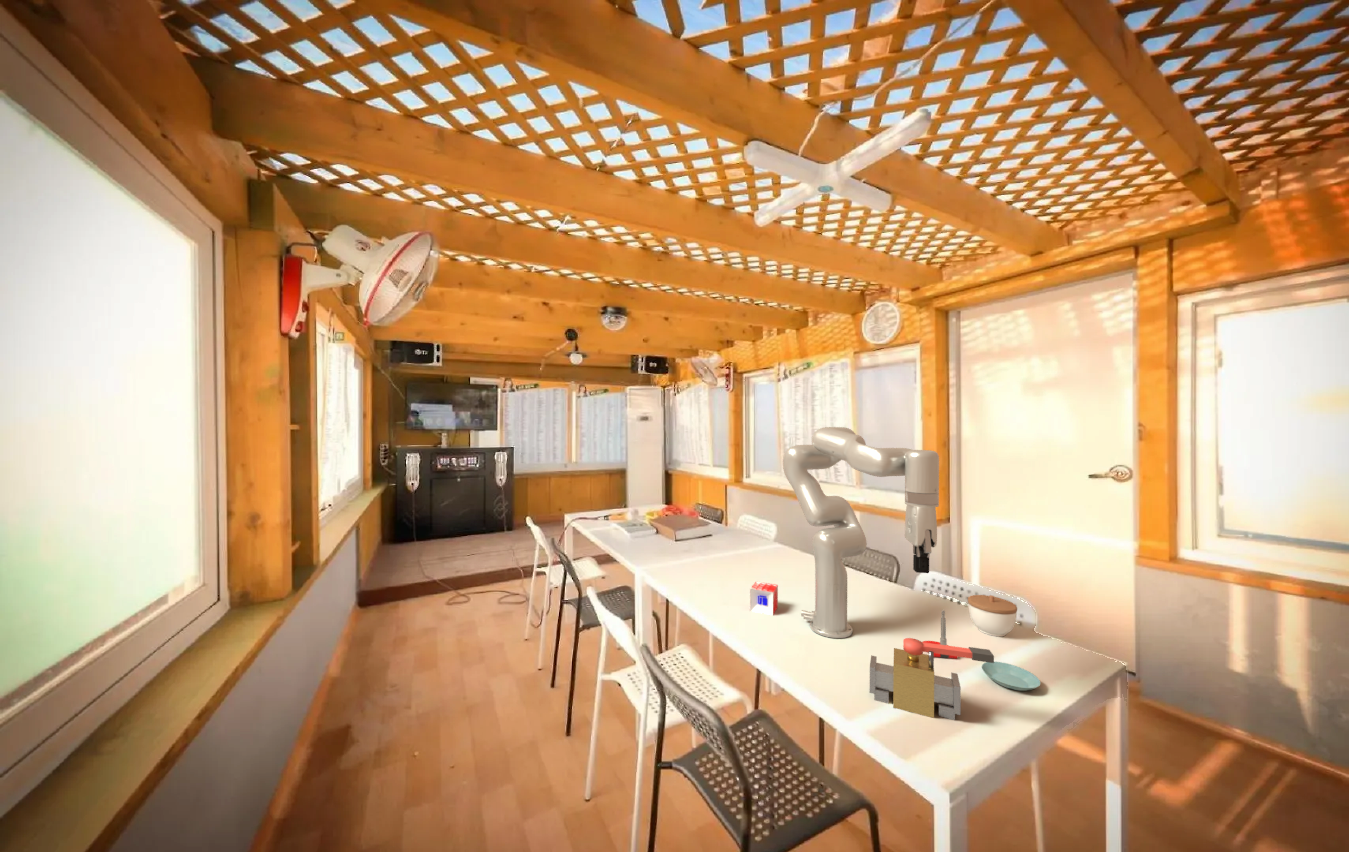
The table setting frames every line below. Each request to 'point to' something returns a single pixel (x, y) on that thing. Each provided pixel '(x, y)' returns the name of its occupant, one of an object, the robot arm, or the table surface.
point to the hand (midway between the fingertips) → (921, 571)
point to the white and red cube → (764, 598)
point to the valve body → (915, 685)
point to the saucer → (1011, 676)
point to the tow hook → (942, 638)
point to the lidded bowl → (992, 614)
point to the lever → (947, 650)
